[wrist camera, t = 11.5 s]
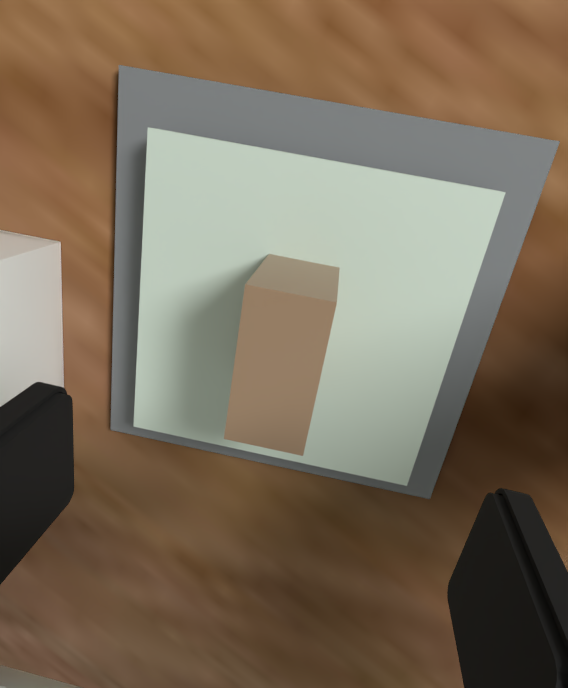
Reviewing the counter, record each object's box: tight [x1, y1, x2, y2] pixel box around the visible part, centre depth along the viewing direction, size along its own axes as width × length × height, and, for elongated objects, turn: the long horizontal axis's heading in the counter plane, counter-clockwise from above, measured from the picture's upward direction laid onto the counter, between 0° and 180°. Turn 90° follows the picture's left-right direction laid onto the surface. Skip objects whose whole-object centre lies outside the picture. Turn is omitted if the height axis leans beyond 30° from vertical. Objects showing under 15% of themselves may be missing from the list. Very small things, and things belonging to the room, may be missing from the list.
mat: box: [111, 65, 560, 499], centre depth 23 cm, size 18×18×1 cm
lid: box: [134, 127, 506, 486], centre depth 19 cm, size 14×14×7 cm
